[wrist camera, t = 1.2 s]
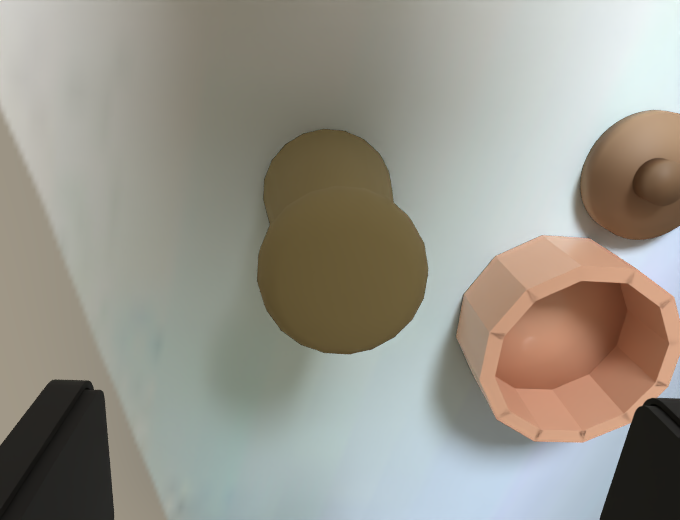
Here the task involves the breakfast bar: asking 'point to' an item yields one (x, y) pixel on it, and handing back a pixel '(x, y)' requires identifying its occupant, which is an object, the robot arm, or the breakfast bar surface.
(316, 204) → the cork
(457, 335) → the pink faceted round bowl
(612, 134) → the lid
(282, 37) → the breakfast bar surface
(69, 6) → the breakfast bar surface
